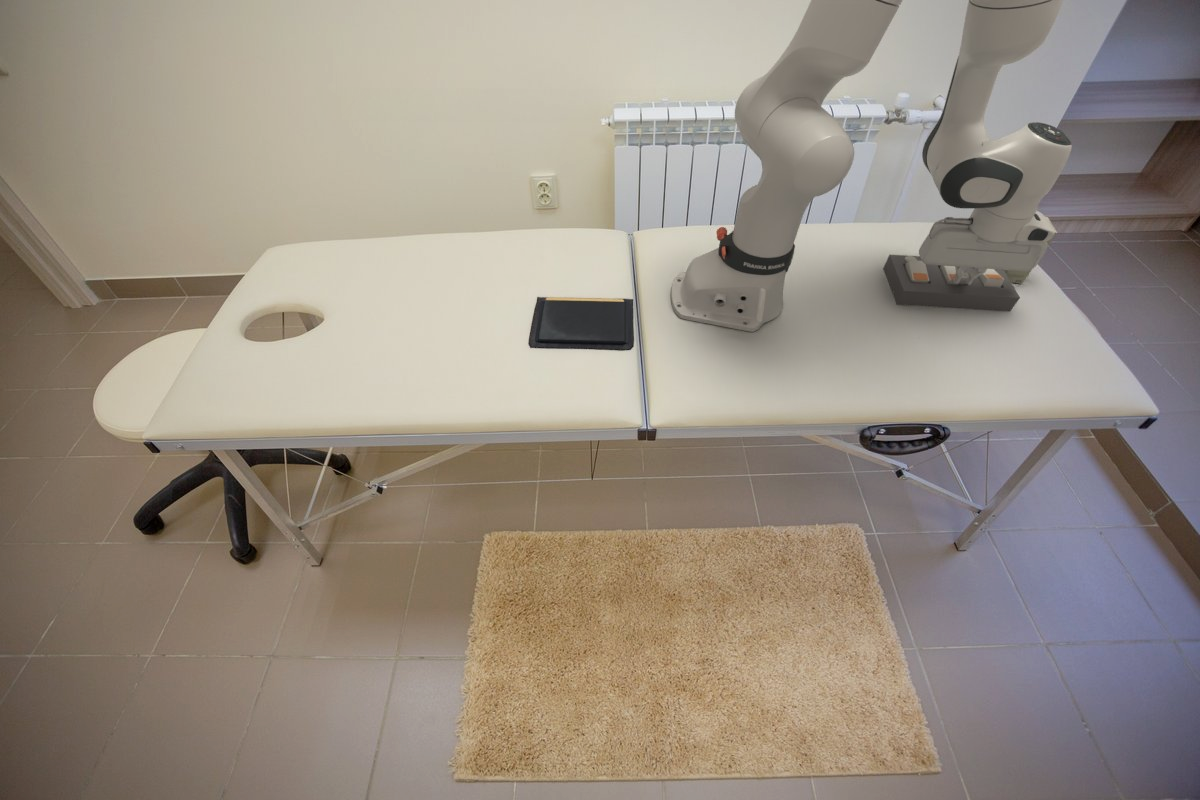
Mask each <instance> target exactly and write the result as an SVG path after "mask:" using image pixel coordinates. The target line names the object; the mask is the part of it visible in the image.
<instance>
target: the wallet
mask: <svg viewBox="0 0 1200 800" xmlns="http://www.w3.org/2000/svg"><path fill="white" fill-rule="evenodd" d="M634 329H635V328H634V299H632V298H601V297H600V298H594V297H592V298H591V297H590V298H589V297H554V296H553V297H552V296H551V297H547V296H546V297H544V296H539V297H536V303H535V306H534V310H533V315H532V319H531V325H530V330H529V336H528V347H529V348H530V349H547V350H548V349H549V350H551V349H552V350H553V349H554V350H555V349H556V350H595V351H596V350H599V351H618V352H619V351H620V352H621V351H631V350H632V349H633V348H634V344H635V334H634V333H635V331H634Z"/></svg>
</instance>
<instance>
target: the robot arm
mask: <svg viewBox="0 0 1200 800" xmlns="http://www.w3.org/2000/svg"><path fill="white" fill-rule="evenodd" d="M902 2H903V0H810V2H809V4H808V6H807V8H806V11H805V13H804V15H803V17H802V19H801V21H800V23H799V26H798V28H797V30H796V32H795V34H794V35H793V37H792V39H791V40H790V42H789V44H788V46H787V47H786V49H784V52H782V54H781V56H780V57H779V58H778V59H777V61H776V62H775V63H774V64H773V66H772V67H771V68H770V69H769V70H768V71H767V73H765V74H764V75H763V76H760V77H758V78H756V79H754V80H753V81H752V82H750V83H749V84H748V85H747V86H746V87H745V88H744V89H743V90H742V92H741V93H740V95H739V97H738V99H737V101H736V104H735V109H734V120H735V124H736V126H737V129H738V131H739V133H740V136H741V137H742V140H743V141H744V143H745V144H746V145H747V147H749V149H751V151H752V152H753V153H754V155H756V156H757V158H759V160H760V163H761V170H762V172H761V175H760V179H759V181H758V182H757V184H755V185H754V186H751V187H749V188H748V189H747V190H745V191H744V192H743V193H742V195H741V197H740V199H739V203H738V207H737V212H736V216H735V217H736V218H735V222H734V226H733V230H731V232H730V233H728V229H727V228H726V227H724V226H721V227H719V228H718V229H717V230H716V239H717V241H719V244H718V247H717V248H714V249H713V250H710V251H709V252H705V253H704V254H702V255H701V254H700V255H699V256H696V257H695V258H693V259H692V260H691V262H690V263H689V265H688V267H687V269H686V271H682V272H679V273H678V274H677V275H676V276H675V278H674V280H673V282H672V284H671V289H670V302H671V306H672V309H673V311H674V313H675V314H676V315H677V316H678V317H679V318H680V319H682V320H688V321H693V322H698V323H704V324H709V325H713V326H718V327H724V328H730V329H735V330H740V331H745V332H750V333H751V332H756V331H757V330H758V329H760V327H762V325H764V324H766V323H767V322H770V321H772V320H775V319H776V318H777V317H778V316H780V314H781V313H782V312H783V309H784V286H785V279H786V275H787V273H788V271H789V268H790V267H791V264H792V261H793V258H794V254H795V249H796V245H795V241H796V238H797V234H798V232H799V230H800V229H799V228H800V225H801V222H802V219H803V217H804V214H805V212H806V210H807V208H808V206H809V205H810V203H811V202H812V201H813V199H814V198H816V197H820V196H822V195H826V194H827V193H829V192H831V191H832V190H833V189H835V188H836V187H837V186H839V185H840V184H841V183H842V181H844V179H845V178H846V177H847V175H848V173H849V172H850V170H851V168H852V166H853V163H854V160H855V147H854V144H853V142H852V141H851V139H850V137H849V135H848V133H847V132H846V130H845V128H844V127H843V125H842V123H840V121H839V120H838V119H837V118H835V117H834V116H833V115H832V114H830V113H829V111H827V110H826V109H824V108H823V107H822V106H823V103H824V100H825V99H826V98H827V96H828V94H829V93H830V92H831V91H832V90H833V89H834V87H836V85H837V84H839V82H840V81H842V80H843V79H844V78H848V77H851V76H854V75H856V74H858V73H860V72H861V71H863V70H864V69H865V68H866V67H867V66H868V64H869V63H870V61H871V59H872V58H873V55H874V54H875V53H876V50H877V48H878V47H879V46H880V44H881V41H882V39H883V38H884V36H885V33H886V31H887V30H888V28H889V26H890V25H891V22H892V21H893V19H894V17H895V16H896V14H897V12H898V9H900V6H901V4H902ZM1062 3H1063V0H968V3H967V7H966V12H965V17H964V23H963V30H962V35H961V36H962V37H961V42H960V47H959V52H958V56H957V59H956V62H955V66H954V70H953V73H952V76H951V81H950V83H949V87H948V91H947V95H946V99H945V102H944V105H943V109H942V112H941V115H940V117H939V119H938V121H937V123H936V124H935V126H934V127H933V128H932V130H931V132H930V133H929V135H928V136H927V139H926V140H925V141H924V144H923V148H922V155H921V156H922V162H923V165H924V166H925V168H926V169H927V171H928V172H929V174H930V176H931V178H932V180H933V182H934V185H935V186H936V188H937V191H938V193H939V196H940V197H941V199H942V200H943V202H944V203H945V204H947V205H948V206H950V207H952V208H955V209H973V210H972V213H971V214H970V216H969V217H953V216H946V217H944V218H943V219H940V220H937V221H935V222H934V223H933V224H932V226H931V228H930V231H929V233H928V235H927V236H926V237H925V238H924V240H923V242H922V244H921V245H920V247H919V249H918V256H920V258H921V260H922V262H923V263H924V264H927V265H942V266H955V269H956V274H955V276H954V277H953V282H954V284H963V285H971V283H972V282H973V280H974V279H975V278H977V277H979V276H980V275H982V274H983V273H985V272H986V270H987V269H999V270H1013V271H1029V270H1031V269H1032V270H1033V269H1035V268H1036V266H1037V265H1039V263H1040V261H1041V259H1042V258H1043V256H1044V255H1045V253H1046V251H1047V249H1048V247H1049V245H1048V243H1047V241H1049V240H1050V239H1051V238H1052V237H1053V236H1054V234H1055V232H1054V230H1053V228H1052V226H1051V224H1050V223H1049V222H1048V220H1047V219H1046V218H1045V217H1046V216H1045V215H1044V214H1043V213H1042V212H1040V211H1039V210H1038V207H1039V204H1040V202H1041V201H1042V199H1043V198H1044V197H1045V196H1046V195H1047V194H1049V192H1050V191H1051V190H1052V188H1053V187H1054V185H1055V183H1056V182H1057V180H1058V178H1059V177H1060V175H1061V173H1062V172H1063V169H1064V168H1065V166H1066V164H1067V162H1068V160H1069V157H1070V156H1071V152H1072V148H1073V145H1072V142H1071V140H1070V138H1069V137H1068V136H1067V135H1066V133H1064V131H1062V130H1061V129H1059V128H1057V127H1055V126H1053V125H1051V124H1047V123H1043V122H1034V121H1033V122H1029V123H1027V124H1026V125H1024V126H1023V127H1022V128H1020V129H1018V130H1017V131H1015V132H1012V133H1010V134H1007V135H1005V136H1002V137H1000V138H997V139H993V140H992V139H990V137H989V134H988V131H987V128H986V124H985V113H986V109H987V107H988V104H989V101H990V98H991V95H992V92H993V90H994V86H995V84H996V81H997V80H996V79H997V77H998V75H999V72H1000V70H1001V69H1002V68H1003V66H1004V65H1009V64H1014V63H1016V62H1018V61H1021V60H1022V59H1024V58H1026V57H1028V56H1030V55H1031V54H1032V53H1033V52H1035V51H1036V50H1037V49H1038V48H1039V47H1041V46H1042V44H1044V42H1045V41H1046V38H1047V37H1048V36H1049V34H1050V31H1051V29H1052V27H1053V26H1054V23H1055V22H1056V19H1057V17H1058V14H1059V13H1060V9H1061V6H1062ZM1054 237H1055V236H1054ZM1047 246H1048V247H1047ZM967 267H970V268H974V269H972V270H971V271H970V272H969V273H962V271H965V270H966V269H967ZM1032 270H1031V271H1032Z"/></svg>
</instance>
